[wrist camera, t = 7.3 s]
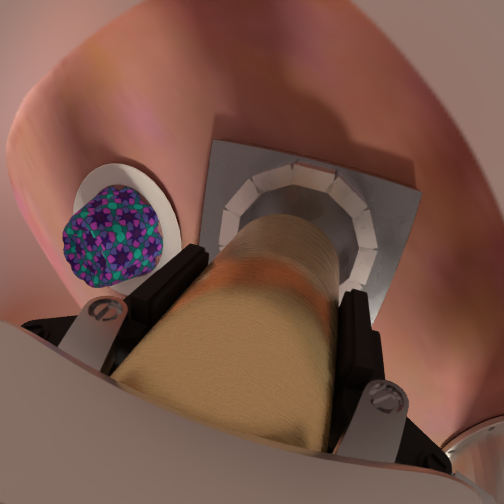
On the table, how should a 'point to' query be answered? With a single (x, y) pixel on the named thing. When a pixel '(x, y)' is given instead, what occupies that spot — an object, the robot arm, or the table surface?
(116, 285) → the pudding
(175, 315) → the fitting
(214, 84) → the table surface
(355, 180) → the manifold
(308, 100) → the table surface
